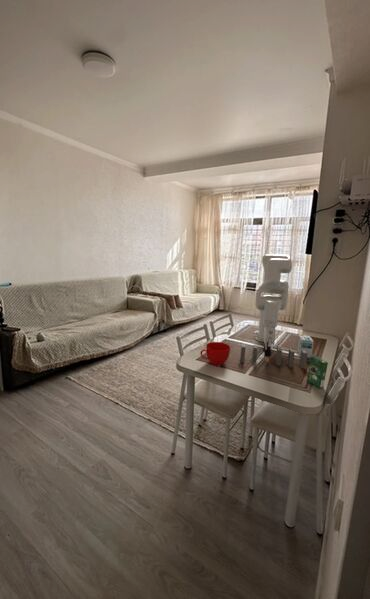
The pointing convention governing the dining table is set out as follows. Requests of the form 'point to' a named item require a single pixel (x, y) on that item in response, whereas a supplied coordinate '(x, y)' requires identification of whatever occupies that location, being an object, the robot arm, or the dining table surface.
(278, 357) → the domino
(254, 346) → the domino
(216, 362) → the ceramic cup
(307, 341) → the light bulb box
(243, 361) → the domino
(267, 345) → the domino
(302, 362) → the domino
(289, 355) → the domino
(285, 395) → the dining table surface
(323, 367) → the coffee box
